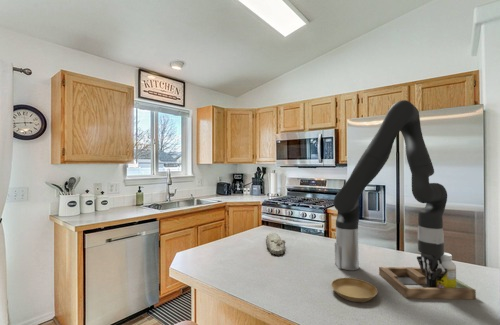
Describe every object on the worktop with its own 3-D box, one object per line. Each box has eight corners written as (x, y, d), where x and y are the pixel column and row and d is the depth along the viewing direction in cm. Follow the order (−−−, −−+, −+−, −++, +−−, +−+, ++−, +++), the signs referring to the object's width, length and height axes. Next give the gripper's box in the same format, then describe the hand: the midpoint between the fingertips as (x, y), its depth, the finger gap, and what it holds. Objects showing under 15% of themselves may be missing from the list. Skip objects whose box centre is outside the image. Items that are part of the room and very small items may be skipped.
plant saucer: (354, 310, 76) (354, 301, 76) (322, 289, 90) (322, 282, 90) (387, 300, 82) (387, 292, 82) (353, 281, 96) (353, 274, 96)
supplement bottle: (428, 286, 91) (427, 250, 91) (445, 285, 91) (444, 250, 91) (442, 295, 84) (441, 257, 85) (461, 295, 84) (460, 257, 85)
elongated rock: (280, 239, 158) (264, 240, 158) (279, 230, 159) (264, 231, 159) (289, 255, 124) (269, 256, 123) (288, 244, 124) (268, 245, 124)
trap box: (405, 298, 83) (405, 288, 83) (379, 274, 101) (379, 267, 101) (475, 299, 82) (475, 290, 82) (436, 275, 100) (436, 267, 100)
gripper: (408, 234, 95) (409, 280, 95) (432, 245, 82) (433, 298, 81) (428, 234, 95) (429, 280, 94) (456, 245, 81) (457, 298, 81)
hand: (431, 288), depth 88 cm, fingers closed
